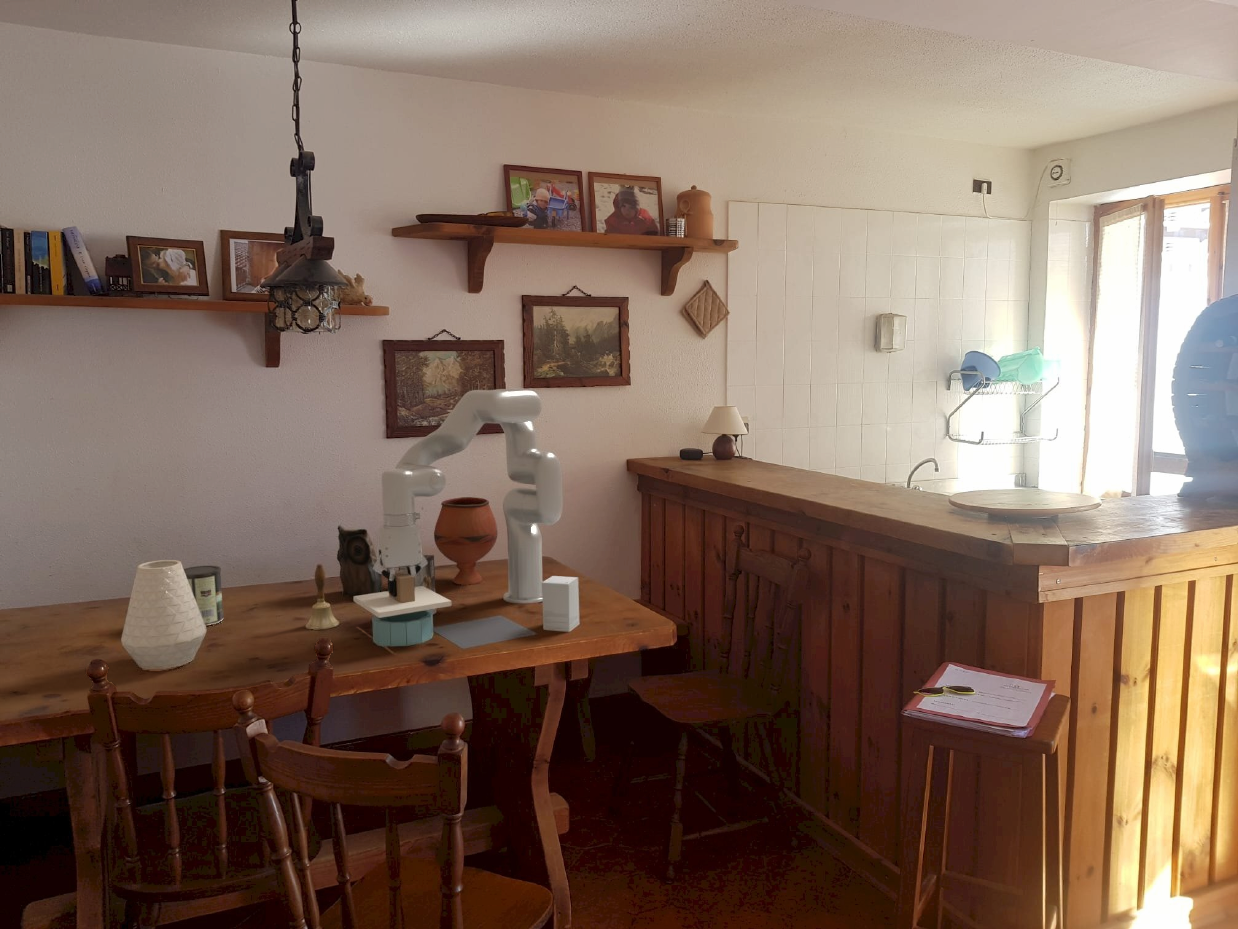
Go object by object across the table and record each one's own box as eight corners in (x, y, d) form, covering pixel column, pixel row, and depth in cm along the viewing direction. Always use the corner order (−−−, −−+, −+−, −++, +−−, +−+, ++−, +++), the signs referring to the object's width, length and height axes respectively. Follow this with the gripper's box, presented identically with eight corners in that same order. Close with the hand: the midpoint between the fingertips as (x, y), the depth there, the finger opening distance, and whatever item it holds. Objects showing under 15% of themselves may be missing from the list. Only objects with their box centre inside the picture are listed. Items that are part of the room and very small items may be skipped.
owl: (376, 599, 268) (373, 530, 265) (331, 600, 267) (328, 531, 264) (384, 587, 280) (381, 521, 278) (341, 589, 279) (338, 522, 277)
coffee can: (204, 615, 253) (201, 563, 251) (232, 619, 249) (229, 567, 247) (171, 625, 244) (168, 572, 242) (200, 630, 239) (197, 576, 238)
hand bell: (301, 624, 244) (297, 564, 242) (332, 619, 249) (329, 559, 247) (311, 632, 237) (308, 570, 235) (343, 626, 242) (341, 565, 240)
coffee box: (414, 612, 254) (412, 554, 252) (436, 613, 253) (434, 554, 251) (400, 622, 245) (397, 561, 243) (423, 623, 244) (421, 562, 242)
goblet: (442, 592, 275) (439, 507, 271) (430, 577, 292) (427, 498, 289) (506, 585, 281) (504, 503, 278) (490, 571, 299) (488, 494, 296)
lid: (422, 590, 242) (421, 563, 241) (451, 605, 227) (450, 576, 226) (353, 601, 232) (352, 572, 231) (379, 617, 217) (377, 587, 216)
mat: (500, 616, 249) (500, 615, 249) (537, 635, 232) (537, 633, 232) (429, 629, 238) (429, 628, 238) (462, 650, 221) (462, 649, 221)
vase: (216, 665, 212) (209, 565, 209) (130, 682, 202) (121, 577, 199) (199, 646, 226) (193, 552, 224) (118, 660, 216) (110, 562, 214)
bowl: (419, 626, 241) (418, 604, 240) (441, 640, 229) (440, 616, 228) (366, 636, 233) (365, 612, 232) (386, 651, 221) (385, 626, 221)
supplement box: (580, 625, 241) (579, 577, 239) (569, 633, 234) (568, 584, 232) (553, 622, 243) (552, 575, 242) (542, 631, 236) (541, 581, 235)
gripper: (425, 514, 235) (427, 586, 237) (360, 521, 226) (363, 596, 228) (437, 518, 229) (439, 592, 231) (370, 526, 220) (373, 603, 222)
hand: (401, 593), depth 229 cm, fingers closed on lid, 3 cm apart
